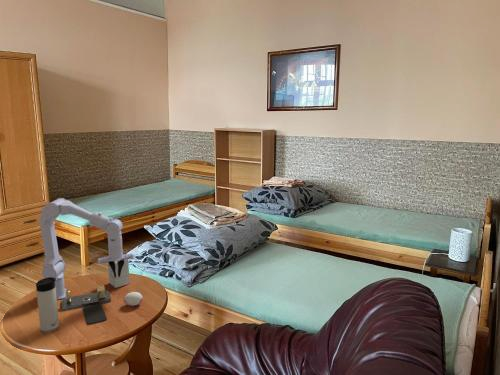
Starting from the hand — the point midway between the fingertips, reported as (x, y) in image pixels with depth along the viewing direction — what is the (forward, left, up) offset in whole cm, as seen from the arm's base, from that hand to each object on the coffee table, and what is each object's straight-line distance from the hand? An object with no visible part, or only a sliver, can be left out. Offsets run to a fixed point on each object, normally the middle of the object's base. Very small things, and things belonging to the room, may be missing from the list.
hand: (117, 276), depth 168 cm
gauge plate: (0, -13, -9) cm, 16 cm away
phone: (+12, -11, -10) cm, 19 cm away
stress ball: (+10, +5, -10) cm, 15 cm away
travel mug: (+17, -27, -10) cm, 33 cm away
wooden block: (0, -7, -8) cm, 10 cm away
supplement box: (-13, +2, -10) cm, 16 cm away
